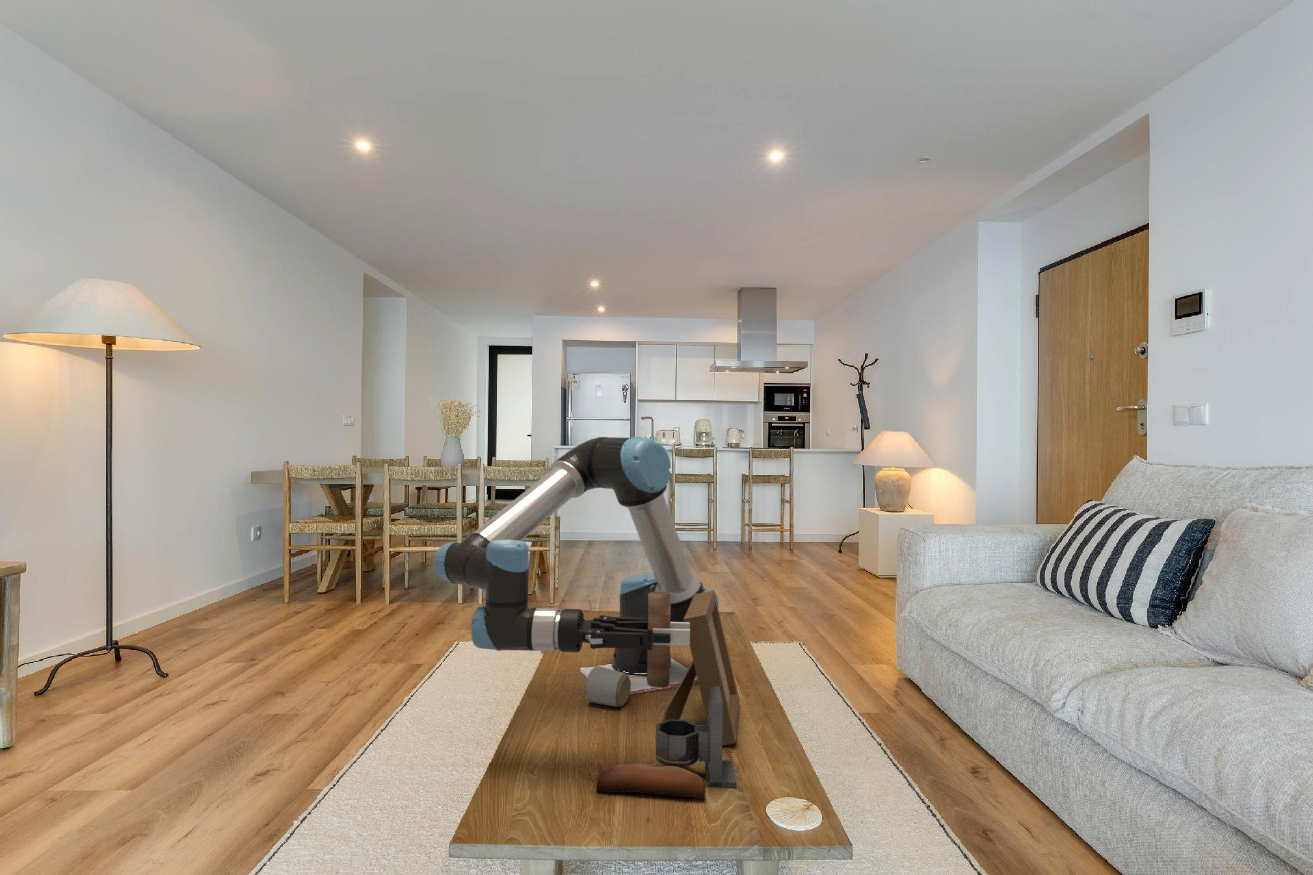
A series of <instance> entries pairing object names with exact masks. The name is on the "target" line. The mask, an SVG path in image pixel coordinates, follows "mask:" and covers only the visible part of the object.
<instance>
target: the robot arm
mask: <svg viewBox="0 0 1313 875" xmlns="http://www.w3.org/2000/svg"><path fill="white" fill-rule="evenodd" d="M671 465H672V464H671V459H670V456H669V454H668V452H667V450H666V448H665V447H664V446H663V444H662V443H660V442H659V441H658V440H655V439H653V438H648V437H642V436H632V437H621V436H620V437H613V436H612V437H611V436H610V437H609V436H608V437H607V436H603V437H602V436H599V437H595V438H591V439H588V440H586V441H584V442H582V443H580V444H579V445H576V446H575V447H573V448H572V449H569V450H568V451H567V452H565V453H564V454H563V455H562V456H560V457H559V458H558V459H556V460H555V461H554V462H553V463H552V464H551V465H550V467H549V471H548V472H547V473H546V474H544V476H542V477H541V478H540V479H538V480H537V481H536V482H535V483H533V484H532V485H531V486H530V487H529V488H527V489H526V490H525V491H524V492H522V493H521V494H520V495H519V496H517V497H516V498H515V499H514V500H513V501H511V502H510V503H509V504H507V505H506V506H505V507H503V509H501V510H500V511H499V512H497V513H496V514H495V515H494V516H493V517H491V518H490V519H489V520H488V521H486V522H485V523H484V524H482V525H481V526H480V527H479V528H478V529H476V530H475V531H474V532H473V533H471V534H470V535H468V537H466V538H465V539H463V540H462V541H460V542H457V541H455V542H448V543H444V544H443V545H442V546H440V547H439V549H438V550H437V551H436V552H435V555H434V558H433V568H434V569H433V570H434V571H435V574H436V575H437V577H439V578H440V579H442V580H443V581H446V582H448V583H451V584H453V585H462V586H467V587H471V588H475V589H480V590H484V591H485V605H481V606H479V607H476V608H475V611H474V612H473V616H472V618H471V620H472V621H471V622H472V623H471V625H470V626H471V627H470V637H471V641H472V643H473V645H474V646H475V647H476V648H478V649H483V650H484V649H485V650H493V651H498V652H500V651H530V652H531V651H532V652H540V654H542V655H545V654H546V653H547V652H557V650H559V651H560V652H562V653H579V652H580V651H581V650H582V647H583V643H585V644H590V645H589V648H590V649H592V650H595V649H614V652H613V655H612V657H611V658H612V659H611V660H612V664H611V665H612V668H613V667H615V668H616V669H619V670H620V671H625V672H629V673H647V657H648V650H652V643H653V645H670V646H674V647H675V646H679V647H680V646H681V647H690V622H684V617H685V615H686V613H687V611H688V608H689V606H690V604H691V602H692V599H693V597H694V595H695V594H698V593H703V592H708V591H713V590H712V589H710V588H707V589H706V588H705V587H704V585H703V583H702V580H701V577H700V575H698V573H696V572H694V571H692V570H691V567H690V564H689V561H688V559H687V556H686V554H685V551H684V547H683V545H682V543H681V539H680V537H679V533H678V531H677V529H676V526H675V524H674V520H673V516H672V515H671V512H670V509H669V506H668V503H667V501H666V498H665V495H664V494H665V493H666V491H667V488H668V483H669V481H670V478H671V475H672V474H671V471H670V469H671V468H672V466H671ZM593 489H607V490H608V489H609V490H613V492H614V494H615V497H616V499H617V502H618V503H619V505H620V506H621V507H623V508H627V509H628V511H629V513H630V517H631V519H632V522H633V524H634V527H635V530H636V532H637V535H638V537H639V540H640V542H641V545H642V548H643V550H644V552H645V555H646V558H647V560H648V563H649V566H650V568H651V571H652V573H647V574H637V575H633V576H632V575H631V576H628V577H624V578H623V579H622V580H621V582H620V591H619V592H620V593H619V616H609V615H604V614H601V615H599V617H593V618H592V619H585V618H584V616H585V615H584V612H583V610H582V609H579V608H563V609H561V610H560V608H558V607H529V583H530V582H529V580H530V578H529V577H530V566H531V564H530V563H531V562H530V556H529V546H528V544H527V542H525V541H523V540H524V539H525V538H527V537H528V536H529V535H530V534H532V532H534V531H535V530H536V529H537V528H538V527H540V526H541V525H542V524H543V523H544V522H545V521H546V520H548V518H550V517H551V516H552V515H553V514H554V513H555V512H557V511H558V510H559V509H560V508H561V507H562V506H564V505H565V504H566V503H567V502H568V501H569V500H571V499H572V498H573V499H577V498H580V497H581V496H582V495H583V494H584V493H586V492H587V491H590V490H593ZM650 592H668V593H670V594H671V608H670V629H662V628H653V633H652V630H648V593H650ZM714 593H715V597H716V601H717V606H718V607H719V597H718V595H717V593H716V592H715V591H714ZM671 667H672V656H671V654H670V668H671ZM615 668H614V669H615ZM616 669H615V670H616ZM620 671H619V672H620Z"/></svg>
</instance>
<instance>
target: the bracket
mask: <svg viewBox="0 0 1313 875" xmlns="http://www.w3.org/2000/svg"><path fill="white" fill-rule="evenodd" d="M722 725H723V702H722V696H721V691H720V686H708V722H707V724H698V723H695V722H692V721H690V720H687V719H680V720H676V719H668V720H666V721H660V722H658V723H656V725H655V760H656V761H657V762H658V763H660V765H666V766H675V767H680V768H684V767H690V766H692V765H694V764H695V763H698V762H700V763H704V764H705V765H704V774H705V786H706V787H707V788H737V786H738V784H737V783H738V782H737V778H736V773H735V766H734V761H733V760H726V759H723V745H722Z"/></svg>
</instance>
